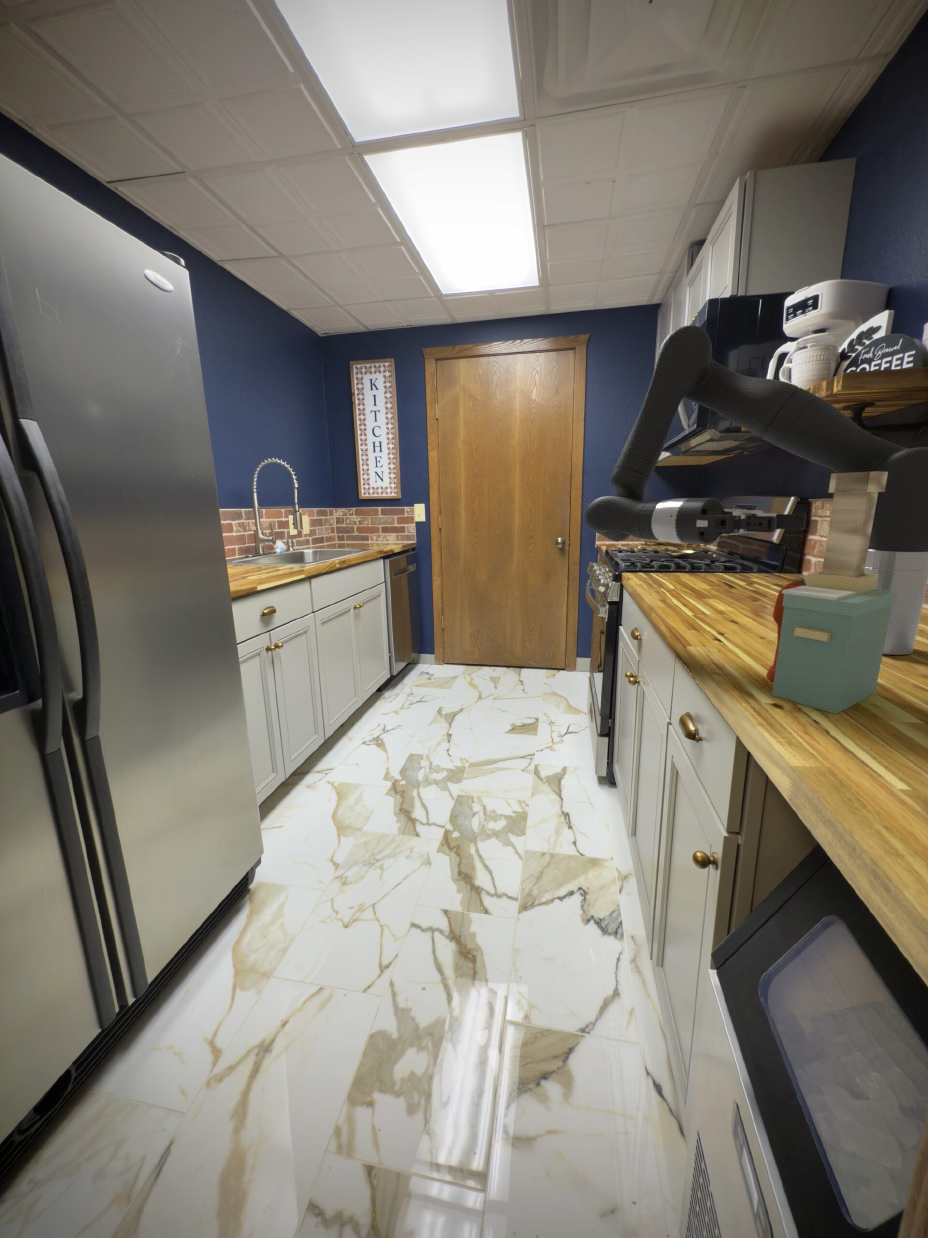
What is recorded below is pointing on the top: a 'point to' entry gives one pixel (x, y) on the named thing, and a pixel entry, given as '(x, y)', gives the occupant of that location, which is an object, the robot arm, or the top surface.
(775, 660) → the toy drill
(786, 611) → the tool chest
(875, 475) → the wooden key
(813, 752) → the top surface
